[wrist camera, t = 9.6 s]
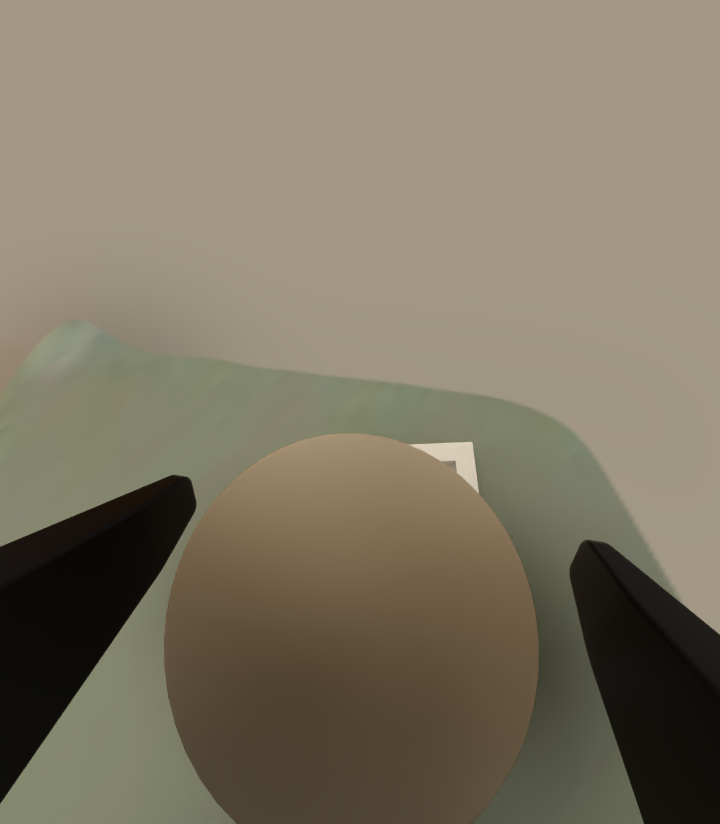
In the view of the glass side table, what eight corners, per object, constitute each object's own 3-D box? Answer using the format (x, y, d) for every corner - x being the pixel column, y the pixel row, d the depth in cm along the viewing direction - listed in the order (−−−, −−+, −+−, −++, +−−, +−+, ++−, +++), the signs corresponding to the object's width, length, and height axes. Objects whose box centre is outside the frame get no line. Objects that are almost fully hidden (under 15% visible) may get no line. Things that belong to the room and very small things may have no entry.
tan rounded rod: (432, 597, 15) (580, 887, 3) (336, 597, 16) (132, 855, 4) (424, 497, 17) (504, 425, 5) (335, 499, 17) (191, 440, 5)
